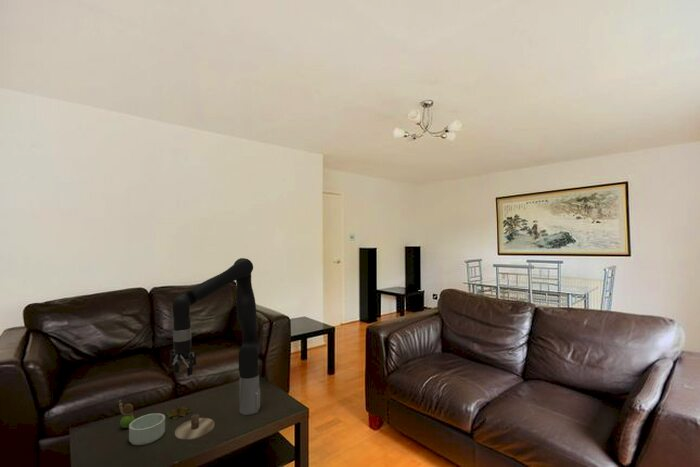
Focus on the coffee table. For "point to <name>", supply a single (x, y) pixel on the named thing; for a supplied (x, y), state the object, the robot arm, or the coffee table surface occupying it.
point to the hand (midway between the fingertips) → (183, 373)
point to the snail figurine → (126, 415)
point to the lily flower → (178, 410)
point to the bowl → (146, 429)
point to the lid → (194, 428)
